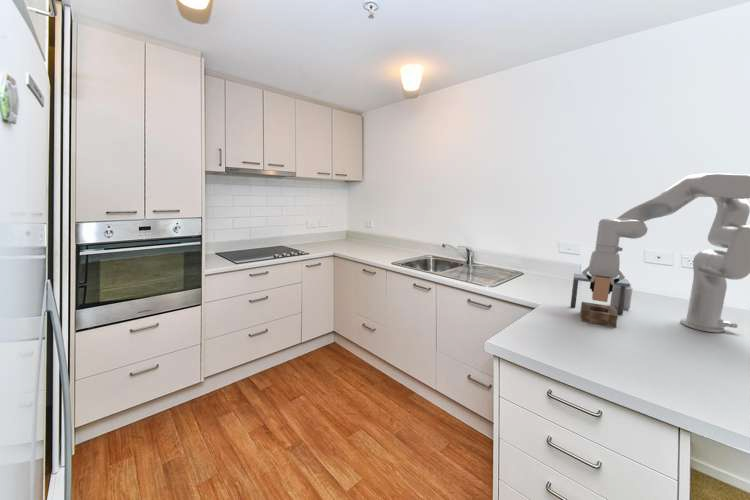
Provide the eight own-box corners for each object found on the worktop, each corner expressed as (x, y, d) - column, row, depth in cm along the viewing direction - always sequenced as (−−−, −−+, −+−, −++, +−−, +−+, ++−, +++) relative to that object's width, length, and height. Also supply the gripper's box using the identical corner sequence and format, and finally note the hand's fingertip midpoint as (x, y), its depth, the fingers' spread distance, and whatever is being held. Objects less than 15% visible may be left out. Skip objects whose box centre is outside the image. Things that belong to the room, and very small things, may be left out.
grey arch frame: (622, 314, 145) (627, 279, 142) (624, 320, 138) (630, 283, 135) (570, 306, 155) (574, 273, 153) (570, 311, 148) (574, 277, 145)
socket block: (612, 317, 141) (614, 306, 141) (616, 327, 130) (617, 315, 130) (580, 312, 148) (581, 301, 147) (580, 321, 137) (582, 310, 136)
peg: (606, 299, 137) (609, 276, 135) (607, 302, 133) (610, 278, 131) (592, 296, 140) (595, 274, 138) (592, 300, 135) (595, 276, 134)
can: (629, 311, 148) (633, 286, 146) (609, 308, 153) (612, 283, 151) (629, 307, 154) (632, 283, 152) (610, 304, 159) (613, 280, 157)
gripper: (631, 250, 131) (624, 293, 134) (581, 246, 140) (576, 286, 143) (634, 252, 125) (627, 298, 128) (582, 248, 134) (576, 290, 137)
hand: (600, 291), depth 136 cm, fingers closed on peg, 4 cm apart
